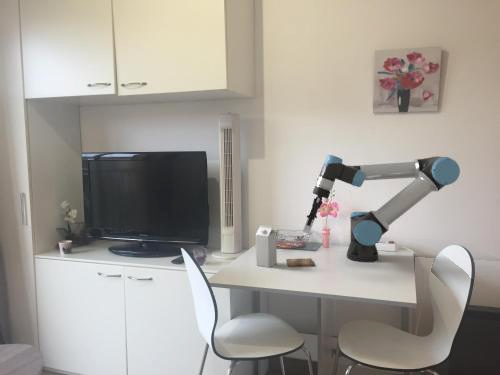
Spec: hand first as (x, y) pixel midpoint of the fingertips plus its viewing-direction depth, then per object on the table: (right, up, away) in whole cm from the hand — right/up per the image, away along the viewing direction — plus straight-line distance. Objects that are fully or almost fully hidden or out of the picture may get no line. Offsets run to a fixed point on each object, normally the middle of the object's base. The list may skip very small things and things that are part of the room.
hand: (306, 231), depth 193 cm
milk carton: (-18, -17, +6) cm, 26 cm away
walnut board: (-2, -16, +6) cm, 18 cm away
